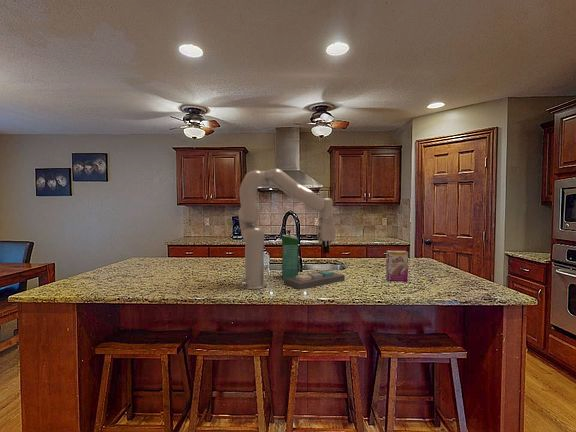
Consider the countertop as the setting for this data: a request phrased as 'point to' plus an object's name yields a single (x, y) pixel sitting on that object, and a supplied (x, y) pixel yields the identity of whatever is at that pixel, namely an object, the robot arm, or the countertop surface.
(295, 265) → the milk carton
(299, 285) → the keypad
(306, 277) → the cream key
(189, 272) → the countertop surface
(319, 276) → the slate key
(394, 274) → the candy bar box
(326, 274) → the teal key
